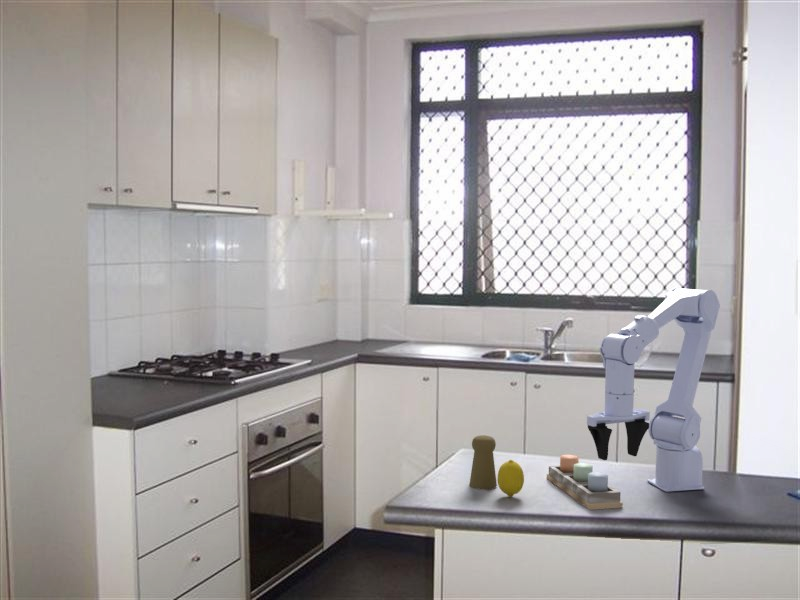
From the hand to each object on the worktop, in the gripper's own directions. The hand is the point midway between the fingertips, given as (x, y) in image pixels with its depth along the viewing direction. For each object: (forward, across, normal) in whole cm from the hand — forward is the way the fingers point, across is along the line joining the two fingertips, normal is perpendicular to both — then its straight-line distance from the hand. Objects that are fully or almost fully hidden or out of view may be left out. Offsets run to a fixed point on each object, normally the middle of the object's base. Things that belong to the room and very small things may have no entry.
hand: (617, 457), depth 173 cm
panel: (+9, +3, -8) cm, 13 cm away
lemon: (+10, +19, -11) cm, 24 cm away
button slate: (+7, +4, -1) cm, 8 cm away
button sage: (+7, +3, -8) cm, 11 cm away
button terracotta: (+7, +1, -15) cm, 16 cm away
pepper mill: (+10, +20, -20) cm, 30 cm away
